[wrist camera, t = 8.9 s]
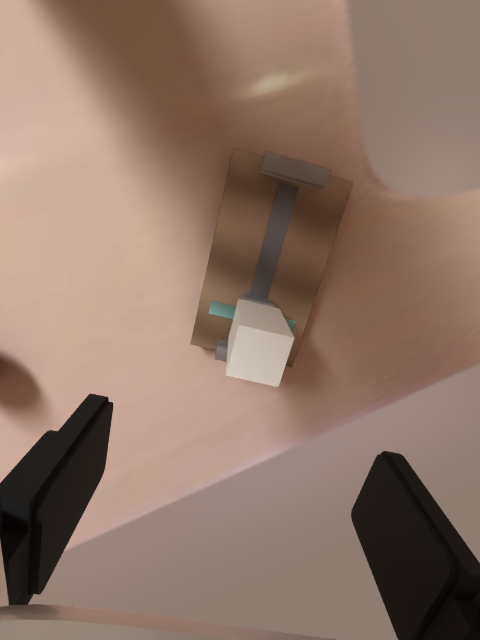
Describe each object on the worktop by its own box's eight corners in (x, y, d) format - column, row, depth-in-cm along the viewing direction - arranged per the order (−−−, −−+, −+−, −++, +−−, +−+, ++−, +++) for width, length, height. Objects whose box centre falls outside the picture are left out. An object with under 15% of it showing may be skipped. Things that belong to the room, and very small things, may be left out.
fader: (238, 292, 27) (240, 321, 19) (277, 301, 28) (295, 335, 19) (228, 333, 28) (225, 378, 20) (265, 342, 29) (277, 389, 21)
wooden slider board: (233, 153, 26) (233, 141, 22) (345, 185, 27) (362, 178, 23) (193, 336, 31) (187, 352, 27) (288, 358, 32) (295, 377, 28)
